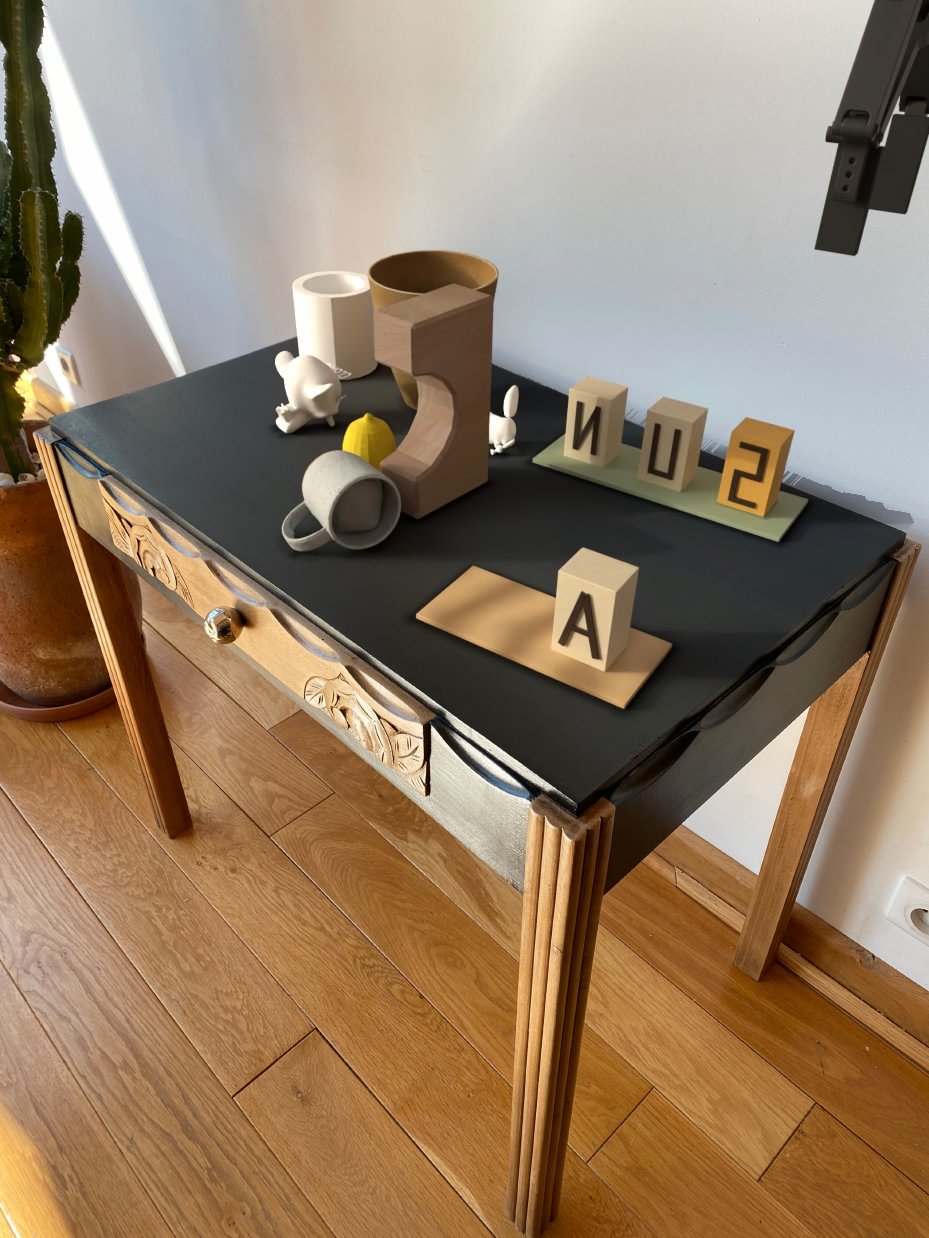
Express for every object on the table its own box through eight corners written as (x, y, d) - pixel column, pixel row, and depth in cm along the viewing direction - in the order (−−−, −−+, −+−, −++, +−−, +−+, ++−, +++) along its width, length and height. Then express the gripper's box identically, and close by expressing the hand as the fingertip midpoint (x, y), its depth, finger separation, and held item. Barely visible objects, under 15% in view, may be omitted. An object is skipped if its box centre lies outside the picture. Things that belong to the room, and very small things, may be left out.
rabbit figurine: (471, 456, 103) (466, 399, 107) (489, 472, 106) (484, 415, 110) (516, 436, 101) (510, 378, 104) (534, 452, 104) (528, 395, 107)
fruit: (371, 463, 102) (367, 395, 97) (408, 479, 99) (406, 410, 94) (334, 482, 98) (328, 413, 94) (372, 499, 96) (368, 429, 91)
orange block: (777, 500, 95) (795, 430, 91) (762, 518, 93) (780, 446, 88) (730, 486, 98) (746, 416, 93) (715, 503, 95) (730, 432, 90)
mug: (326, 337, 130) (320, 260, 124) (395, 345, 128) (392, 267, 122) (288, 375, 120) (278, 292, 114) (362, 384, 118) (357, 301, 112)
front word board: (671, 648, 77) (672, 643, 77) (624, 709, 72) (625, 704, 71) (473, 569, 86) (473, 565, 86) (416, 618, 80) (415, 614, 80)
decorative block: (416, 522, 92) (412, 326, 80) (378, 501, 95) (368, 309, 83) (491, 483, 99) (498, 296, 86) (453, 465, 102) (454, 281, 89)
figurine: (312, 465, 105) (382, 417, 107) (282, 406, 99) (357, 357, 101) (266, 425, 113) (333, 381, 115) (236, 369, 107) (306, 323, 109)
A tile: (627, 646, 77) (639, 567, 72) (603, 673, 74) (615, 593, 69) (574, 624, 79) (582, 546, 74) (549, 650, 76) (556, 571, 71)
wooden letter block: (620, 454, 103) (628, 387, 98) (602, 469, 100) (610, 400, 95) (580, 442, 105) (587, 375, 100) (562, 456, 103) (568, 388, 98)
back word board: (807, 503, 96) (808, 498, 96) (778, 542, 90) (780, 537, 90) (571, 432, 108) (571, 427, 108) (532, 462, 102) (532, 457, 102)
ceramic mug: (365, 500, 96) (360, 432, 91) (404, 537, 90) (400, 467, 85) (270, 530, 91) (259, 461, 86) (304, 571, 86) (295, 499, 81)
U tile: (695, 477, 99) (708, 408, 94) (679, 493, 97) (692, 423, 92) (652, 464, 101) (663, 396, 97) (636, 479, 99) (646, 410, 94)
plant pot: (358, 386, 118) (350, 257, 108) (466, 369, 122) (468, 244, 112) (397, 437, 107) (392, 299, 97) (513, 416, 111) (520, 282, 102)
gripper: (940, -140, 64) (858, 190, 77) (833, -164, 47) (752, 262, 60) (1061, -142, 61) (954, 203, 73) (991, -169, 44) (869, 283, 57)
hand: (863, 230), depth 67 cm, fingers open, 13 cm apart
